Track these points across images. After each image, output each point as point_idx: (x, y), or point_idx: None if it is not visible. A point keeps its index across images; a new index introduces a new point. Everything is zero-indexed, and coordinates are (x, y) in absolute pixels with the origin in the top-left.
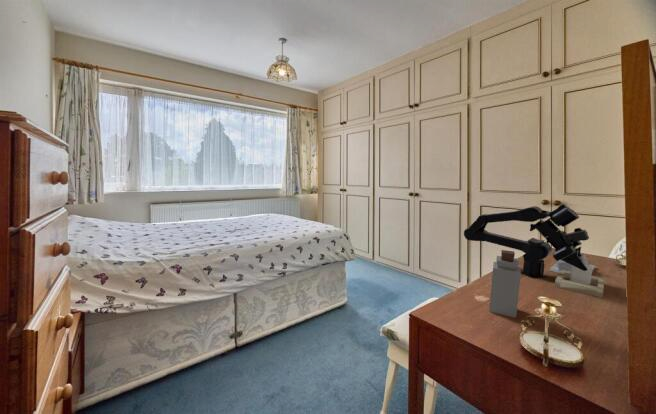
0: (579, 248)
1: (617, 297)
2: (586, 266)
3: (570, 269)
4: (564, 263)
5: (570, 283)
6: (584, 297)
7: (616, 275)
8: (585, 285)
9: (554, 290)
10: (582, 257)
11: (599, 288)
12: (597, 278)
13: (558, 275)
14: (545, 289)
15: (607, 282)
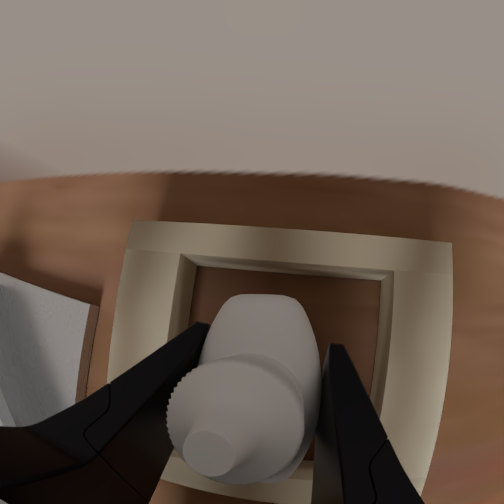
0: (15, 497)
1: (362, 188)
2: (309, 355)
3: (26, 374)
4: (15, 416)
5: (438, 424)
6: (489, 335)
7: (8, 189)
8: (426, 341)
9: (469, 467)
10: (282, 445)
11: (427, 261)
12: (169, 259)
13: (283, 501)
14: (474, 496)
15: (103, 217)
